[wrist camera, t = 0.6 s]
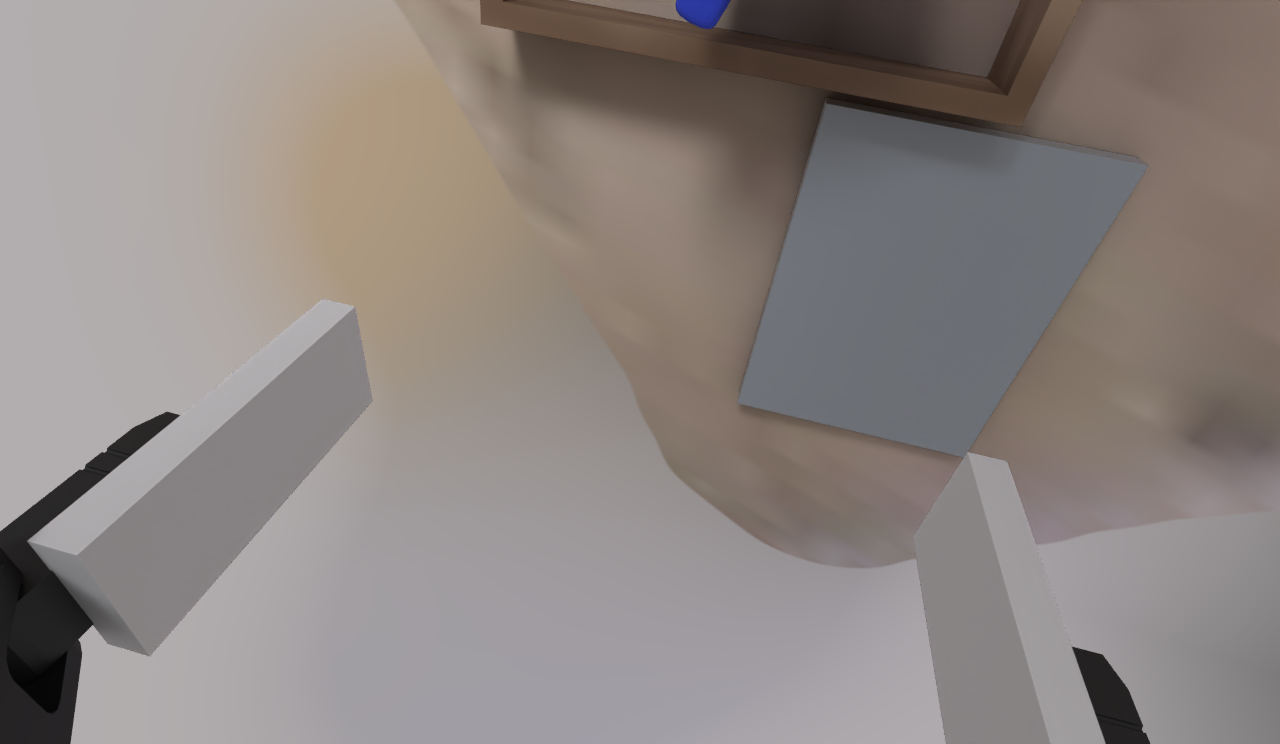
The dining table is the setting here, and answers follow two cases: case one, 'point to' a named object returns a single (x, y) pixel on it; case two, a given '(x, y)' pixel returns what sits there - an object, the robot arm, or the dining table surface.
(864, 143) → the board
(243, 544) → the robot arm
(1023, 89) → the crate
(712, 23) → the mug
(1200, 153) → the dining table surface
